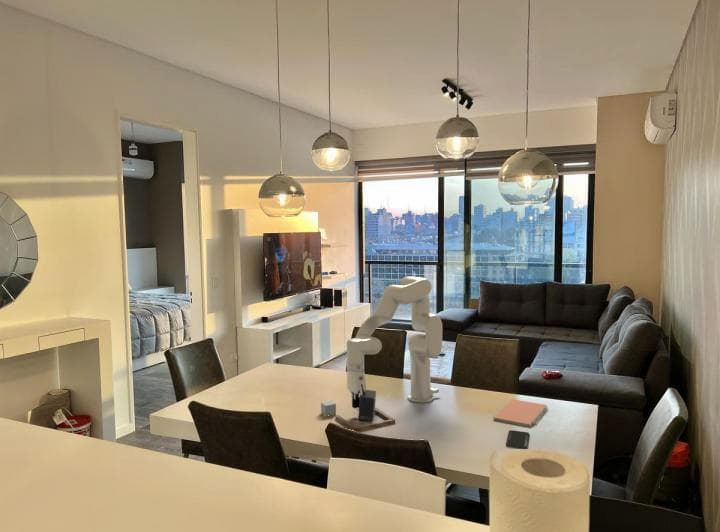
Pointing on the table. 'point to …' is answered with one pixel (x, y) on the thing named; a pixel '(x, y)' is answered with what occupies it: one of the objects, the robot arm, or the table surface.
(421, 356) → the robot arm
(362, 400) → the small box
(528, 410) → the notebook
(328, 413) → the slate block
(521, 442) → the phone
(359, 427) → the frame
